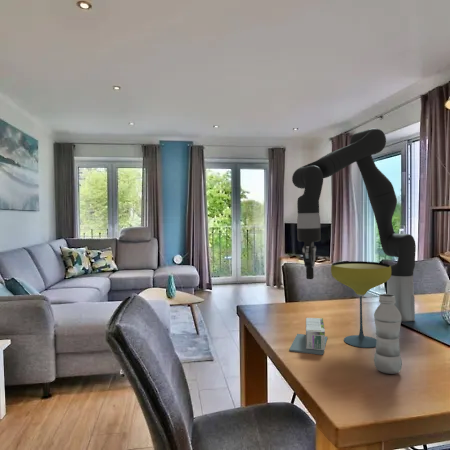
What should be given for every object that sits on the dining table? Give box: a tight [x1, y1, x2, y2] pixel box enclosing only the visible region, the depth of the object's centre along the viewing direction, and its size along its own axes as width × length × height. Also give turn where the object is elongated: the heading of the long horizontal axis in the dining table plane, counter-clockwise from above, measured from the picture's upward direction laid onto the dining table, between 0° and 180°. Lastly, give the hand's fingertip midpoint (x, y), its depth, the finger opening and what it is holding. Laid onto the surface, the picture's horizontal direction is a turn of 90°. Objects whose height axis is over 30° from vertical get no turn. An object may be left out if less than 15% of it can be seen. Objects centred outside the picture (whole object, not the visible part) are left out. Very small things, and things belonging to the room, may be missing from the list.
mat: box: [288, 333, 328, 356], centre depth 112 cm, size 10×15×1 cm, turn 159°
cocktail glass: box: [330, 260, 392, 349], centre depth 113 cm, size 18×18×25 cm
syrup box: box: [305, 317, 326, 351], centre depth 113 cm, size 6×6×14 cm
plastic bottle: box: [373, 293, 403, 375], centre depth 91 cm, size 6×7×20 cm
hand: (310, 278), depth 116 cm, fingers closed
